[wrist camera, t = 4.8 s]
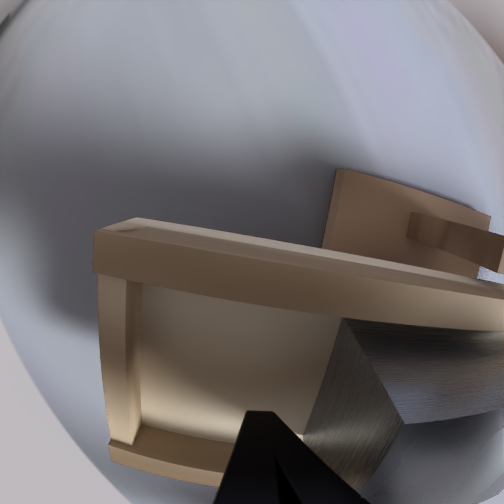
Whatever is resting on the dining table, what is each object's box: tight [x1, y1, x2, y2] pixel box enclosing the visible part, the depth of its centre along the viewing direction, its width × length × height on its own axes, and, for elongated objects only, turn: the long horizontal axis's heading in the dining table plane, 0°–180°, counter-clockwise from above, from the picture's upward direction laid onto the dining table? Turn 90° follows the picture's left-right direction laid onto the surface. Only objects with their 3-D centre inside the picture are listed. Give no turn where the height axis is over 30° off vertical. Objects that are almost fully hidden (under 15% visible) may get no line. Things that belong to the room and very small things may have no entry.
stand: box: [321, 169, 504, 278], centre depth 12 cm, size 14×10×7 cm
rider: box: [303, 317, 504, 504], centre depth 7 cm, size 5×7×4 cm
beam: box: [93, 217, 504, 487], centre depth 9 cm, size 8×25×3 cm, turn 80°
